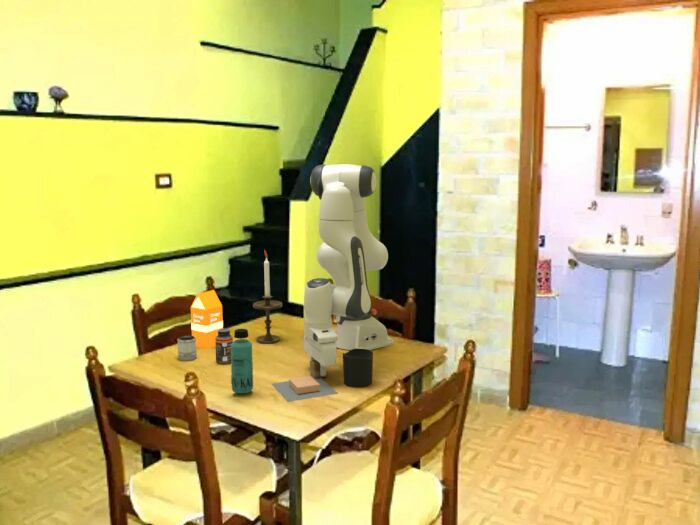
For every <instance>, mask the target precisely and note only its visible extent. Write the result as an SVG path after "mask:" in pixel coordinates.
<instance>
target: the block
mask: <svg viewBox="0 0 700 525" xmlns="http://www.w3.org/2000/svg"><path fill="white" fill-rule="evenodd" d="M309 366H310V367H309V368H310V376H311V377H312V378H313V377H314V378H319V377H321V378H326V377H327V376H328V374H327V373H328V372H327V370H326V375H325V376H321V375H320V374H319V370H320V368H321V366H320V363H319V362H318V361H317V360H312V361H311V360H309Z"/></svg>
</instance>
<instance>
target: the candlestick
mask: <svg viewBox="0 0 700 525" xmlns="http://www.w3.org/2000/svg"><path fill="white" fill-rule="evenodd" d="M264 256H265V260H264V262H263V268H264V269H263V270H264V271H263V272H264V273H263V274H264V277H263V278H264V295H262V298H263V299H264V300H258V301H255V302H253V303H252V307H253V308H254V309H257V310H263V311H265V320H264V324H265V327H264V328H265V330H266V333H265V334H263V335H259V336H258V337H256V343H258V344H262V345H271V344H273V345H274V344H277V343H279V342H281V336H279V335H277V334H271V329H272V326H271V324H272V322H273V321H272V319H271V317H270V316H271V314H270V313H271V312H270V311H272V310H277V309H280V308H282V307H283V302H282V301H280V300H273V299H272V300H271V298H274V297H273V296H272V295H271V286H270V285H271V284H270V261H268V254H267V251H266V250H265V249H264Z"/></svg>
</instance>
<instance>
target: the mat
mask: <svg viewBox="0 0 700 525" xmlns="http://www.w3.org/2000/svg"><path fill="white" fill-rule="evenodd" d="M312 378H313V379H314V380H316V381H317V382H318V383H319V384H320V391H315V392H309V393H302V394H297V393H296V392H295V391H294V390H293V389H292V388H291V387H290V386H289V380H286V381H281V382H274V383H271V385H272V386H273V387H274V389H275V390H276V391H277V392H278V393H279V395H281V397H282V398H283V399H284V400H285V401H286V402H287V403H290V402H295V401H302V400H308V399H309V400H310V399H313V398H320V397H326V396H331V395H333V396H334V395H338V394H339V392H338V391H337V390H336V389H334V388H333V387H332V386H331V385H330V384H329V383H327V382H326V381H325V380H324V379H323V377H319V378H314V377H312Z"/></svg>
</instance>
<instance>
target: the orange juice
mask: <svg viewBox="0 0 700 525" xmlns="http://www.w3.org/2000/svg"><path fill="white" fill-rule="evenodd" d="M190 321H191V322H190V324H191V326H190V328H191V336H194V337H195V338H196V347H198V348H203V349H209V348H212V347H216V346H215V338H216V336H218V330H219V329H224V320H223V304H222V302H221V301H220V299H219V297H218V295H217V293H216V291H215V289H212V290H207V291H204V292H200V293H197V294H196V296H195V298H194V300H193V302H192V304H191V306H190Z"/></svg>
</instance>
